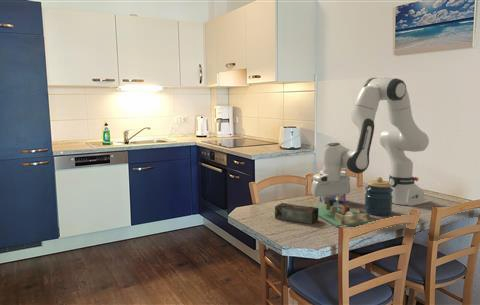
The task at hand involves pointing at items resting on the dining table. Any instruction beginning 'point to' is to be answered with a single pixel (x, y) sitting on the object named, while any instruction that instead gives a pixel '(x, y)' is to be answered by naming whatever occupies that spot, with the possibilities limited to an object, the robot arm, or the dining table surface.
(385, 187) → the canister
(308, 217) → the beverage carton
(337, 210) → the pitch
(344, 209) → the rod
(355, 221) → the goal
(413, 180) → the robot arm
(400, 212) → the dining table surface
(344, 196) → the candy box
